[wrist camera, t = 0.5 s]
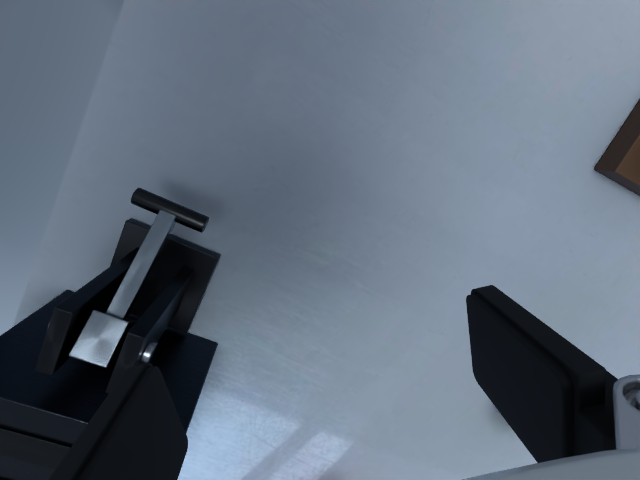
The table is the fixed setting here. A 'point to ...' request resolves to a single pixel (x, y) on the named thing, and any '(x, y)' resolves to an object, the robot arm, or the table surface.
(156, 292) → the lever bracket
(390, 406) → the table surface
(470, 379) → the table surface
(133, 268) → the toaster lever
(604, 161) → the button block
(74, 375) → the toaster
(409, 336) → the table surface
